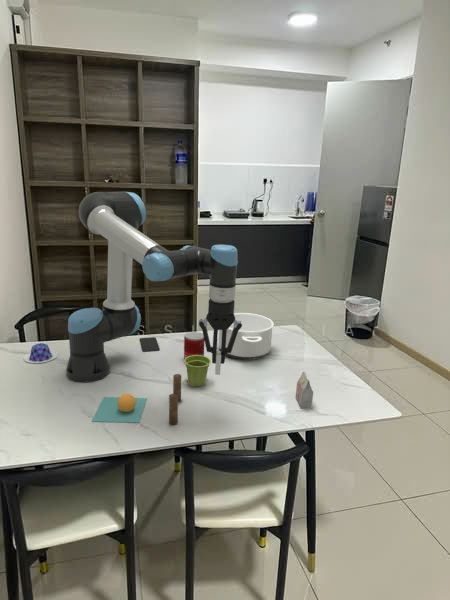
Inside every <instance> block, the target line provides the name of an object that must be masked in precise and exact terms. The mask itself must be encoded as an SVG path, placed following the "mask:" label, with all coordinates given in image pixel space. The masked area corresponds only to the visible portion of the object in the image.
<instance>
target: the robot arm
mask: <svg viewBox="0 0 450 600" xmlns="http://www.w3.org/2000/svg"><path fill="white" fill-rule="evenodd" d="M146 212H147V211H146V206H145V204H144V202H143V201H142V198H141V197H140V196H139V195H138V194H136V193H135V192H129V191H95V192H91V193H89V194H87V195H85V196H84V198H83V199H82V200H81V201H80V204H79V207H78V217H79V219H80V222H81V223H82V225H83V226H84V227H85V228H86V229H87V230H89V232H91V233H92V234H95V235H101V236H102V237H103V238H105V239H106V240H107V243H108V244H107V247H108V249H107V290H106V291H107V293H106V296H107V298H106V299H105V300H104V301H103V302H102V310H101V309H100V308H98V307H89V308H87V307H85V308H81V309H78V310H76V311H74V312H73V313H71V314H70V315H69V317H68V320H67V322H68V323H67V331H68V342H69V354H70V355H69V358H68V360H67V361H68V362H67V365H66V367H65V368H66V369H65V372H66V374H65V376H66V378H67V379H69V380H70V381H73V382H76V383H92V382H96V381H99V380H102V379H104V378H106V377H107V376H108V375H109V374H110V371H111V369H110V362H109V361H108V357H107V356H106V353H105V346H104V344H105V343H107V342H110V341H113V340H117V339H120V338H125V337H128V336H130V335H132V334H134V333H136V332H137V331H138V330H139V329H140V326H141V322H142V321H141V320H142V317H141V316H142V315H141V313H140V310H139V307H138V306H137V305H136V304H135V301H134V300H133V299H132V279H133V260H135V261H136V262H138V263H139V264H140V265H141V266H142V271H143V274H144V275H145V278H146V279H148V280H149V281H151V282H164V281H168V280H173V279H175V278H181V277H187V276H190V275H191V276H192V275H195V274H200V275H203V276H206V277H209V287H208V288H209V290H208V298H209V299H208V305H207V306H208V307H207V308H208V309H207V310H208V311H207V314H206V316H205V317H204V318H203V319H201V318H200V319H199V320H198V326H199V327H200V328H201V330H202V334H203V336H204V346H205V349H206V352H207V353H211V354H212V356H211V357H212V359H211V363H212V364H214V366H215V369H214V370H215V371H214V374H215V375H217V376H218V375H221V367H222V366H221V365H224V364H225V362H226V353H231V351H232V348H233V345H234V342H235V339H236V336H237V333H238V331H239V329H240V328H241V327H242V323H241V321H238V320H236V319H235V316H234V313H235V299H236V287H237V286H236V285H237V284H236V282H237V281H236V280H237V279H236V278H237V269H238V263H239V261H238V249H237V248H236V247H235V246H234V245H229V244H214V245H212V246H211V248H210V249H208V248H203V247H199V246H197V245H185V246H184V245H183V247H182V248H180V249H175V250H168V249H166V248H165V247H163V246H162V245H160V244H158V243H157V242H156V241H154V240H153V239H151V238H150V237H148V236H147V235H146V234H144V233H143V232H141V231H139V227H140V226H142V225H143V224H144V222H146V217H147V213H146ZM233 323H234V324H233ZM208 324H209V325H210V326H211V328H212V329H213V335H212V336H213V338H212V346H211V342H210V337H209V336H210V335H209V333H208V328H207V326H208ZM232 324H233V325H234V328H233V331H232V334H231V337H230V340H229V344H228V347H226V333H227V329H228V328H229V327H230V326H231V325H232ZM219 330H222V343H221V349H220V350H219V351H218V338H219Z"/></svg>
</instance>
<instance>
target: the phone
mask: <svg viewBox="0 0 450 600" xmlns="http://www.w3.org/2000/svg"><path fill="white" fill-rule="evenodd" d="M139 344H140V348H141V351H142V352H143V353H149V352H150V353H152V352H159V351H161V349H160V345H159V343H158V341H157V338H156V337H155V336H154V337H153V336H152V337H149V336H148V337H140V338H139Z"/></svg>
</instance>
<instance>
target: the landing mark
mask: <svg viewBox="0 0 450 600" xmlns="http://www.w3.org/2000/svg"><path fill="white" fill-rule="evenodd" d="M120 397H121V396H120ZM120 397H119V396H104V397H103V398H102V399H101V402H100V404H99V406H98V408H97V410H96V412H95V414H94V416H93V418H92V420H91V422H92V423H94V422H95V423H121V424H122V423H123V424H124V423H126V424H129V423H130V424H140V422H141V418H142V415H143V412H144V409H145V406H146V402H147V397H134V398H135V400H136V405H135V407H134V409H133V410H131V411H130V412H123V411H121V410H120V409H119V408H118V399H119V398H120Z"/></svg>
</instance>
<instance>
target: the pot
mask: <svg viewBox="0 0 450 600" xmlns="http://www.w3.org/2000/svg"><path fill="white" fill-rule="evenodd" d="M234 316H235V319H236V320H238V321H241V323H242V327H241V328H240V329H239V331H238V333H237V336H236V339H235V342H234V345H233V348H232V351H231V353H226V354H225V356H227V357H231V358H233V359H239V360H257V359H260V358H264V357H265V356H266V355H267V354H268V353H269V352H270V351H271V347H272V336H273V328H274V325H275V324H274V321H273V320H272V319H270V318H268V317H266V316H264V315H260V314H257V313H251V312H234ZM233 324H234V323H233ZM233 324H232V325H231V326H230V327H229V328H228V329H227V333H226V347H228V344H229V340H230V337H231V334H232V331H233V328H234V325H233ZM221 343H222V330H218V347H219V349H220V350H221Z"/></svg>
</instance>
